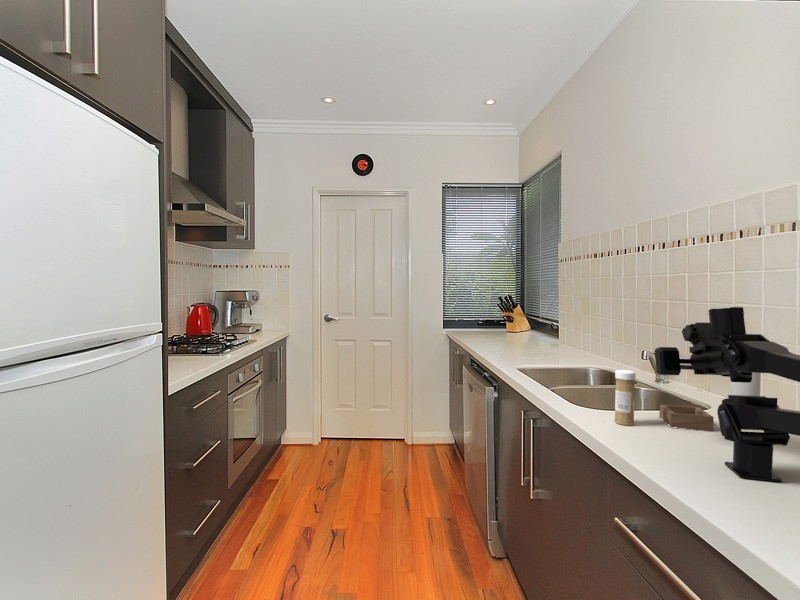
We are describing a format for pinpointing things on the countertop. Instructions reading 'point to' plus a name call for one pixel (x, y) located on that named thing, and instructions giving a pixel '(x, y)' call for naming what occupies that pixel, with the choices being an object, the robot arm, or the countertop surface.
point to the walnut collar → (686, 417)
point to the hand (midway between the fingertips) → (681, 364)
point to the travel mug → (746, 386)
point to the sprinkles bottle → (624, 397)
